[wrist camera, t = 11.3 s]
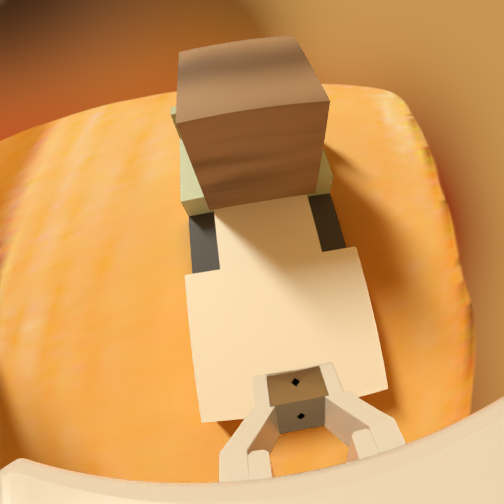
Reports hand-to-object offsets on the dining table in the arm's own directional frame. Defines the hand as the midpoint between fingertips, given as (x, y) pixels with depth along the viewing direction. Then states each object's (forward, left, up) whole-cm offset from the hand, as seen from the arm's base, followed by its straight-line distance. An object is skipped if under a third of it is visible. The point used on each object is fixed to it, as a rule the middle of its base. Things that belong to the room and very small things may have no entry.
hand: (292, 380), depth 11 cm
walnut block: (+11, +12, -8) cm, 18 cm away
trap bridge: (+6, +7, -11) cm, 14 cm away
